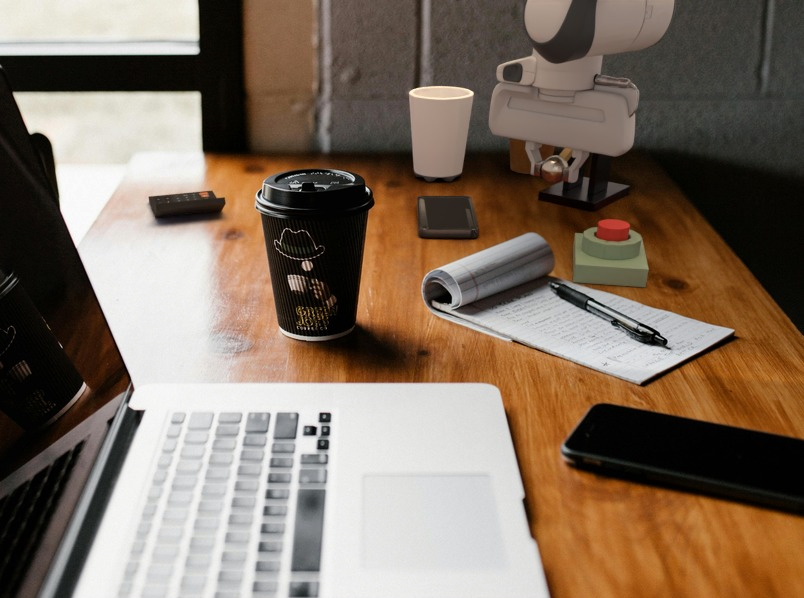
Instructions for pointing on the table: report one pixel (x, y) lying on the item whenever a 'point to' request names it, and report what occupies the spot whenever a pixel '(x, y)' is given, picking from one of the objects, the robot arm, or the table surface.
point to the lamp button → (613, 230)
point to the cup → (439, 130)
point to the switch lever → (556, 166)
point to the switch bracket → (587, 187)
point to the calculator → (186, 203)
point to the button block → (609, 260)
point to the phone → (446, 217)
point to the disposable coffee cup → (525, 155)
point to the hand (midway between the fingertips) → (553, 178)
